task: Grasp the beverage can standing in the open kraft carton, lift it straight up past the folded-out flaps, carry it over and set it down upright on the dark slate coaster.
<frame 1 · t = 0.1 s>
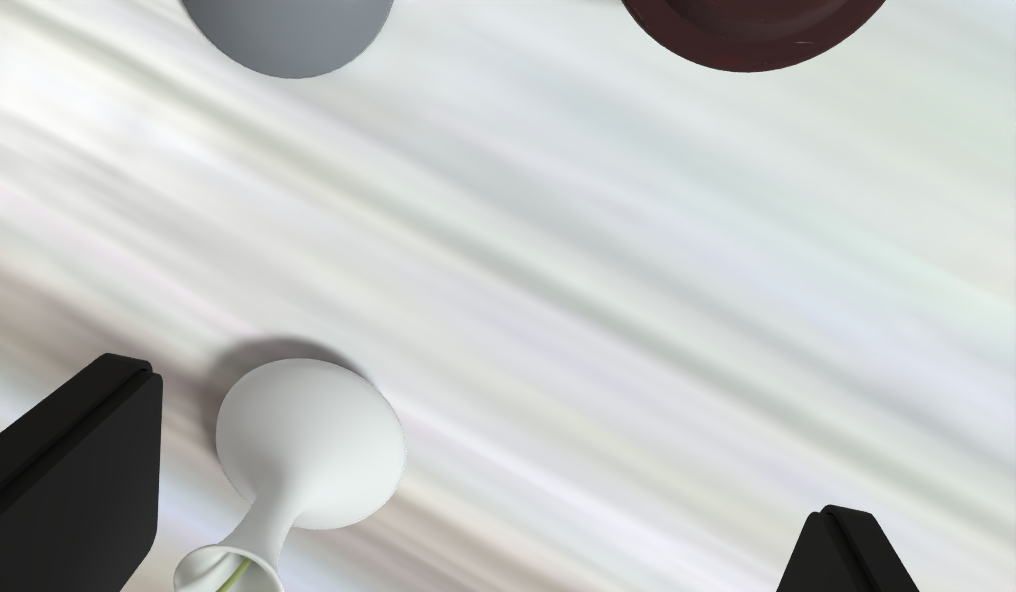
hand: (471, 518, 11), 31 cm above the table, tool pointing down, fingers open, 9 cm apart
flower in vase: (307, 427, 47), on the table
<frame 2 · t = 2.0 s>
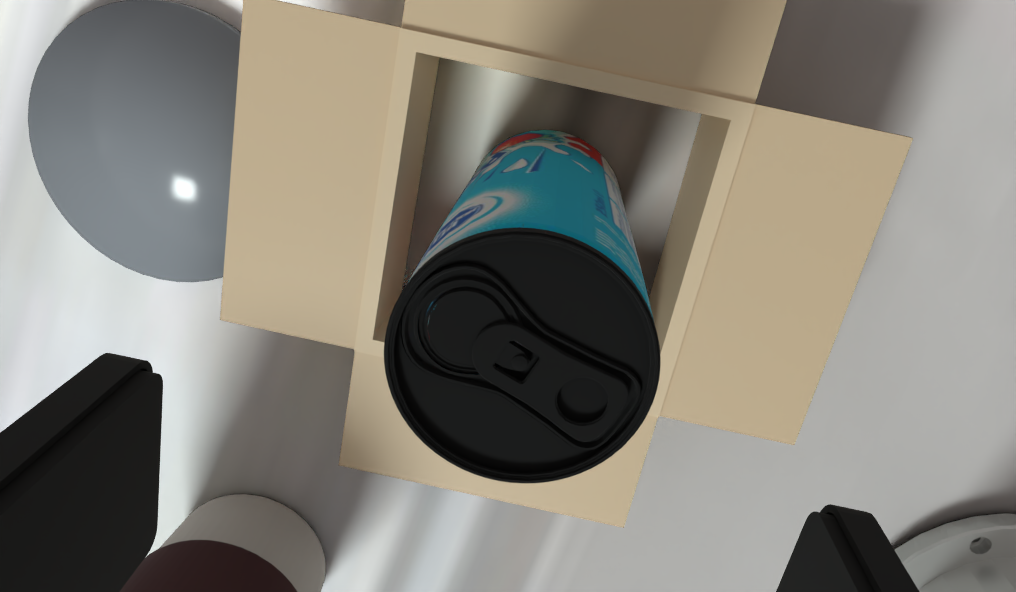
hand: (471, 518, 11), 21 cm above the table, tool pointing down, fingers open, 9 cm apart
carton: (544, 202, 30), on the table
coffee cup: (257, 550, 38), on the table
coaster: (172, 147, 31), on the table
beverage can: (544, 201, 31), resting in carton
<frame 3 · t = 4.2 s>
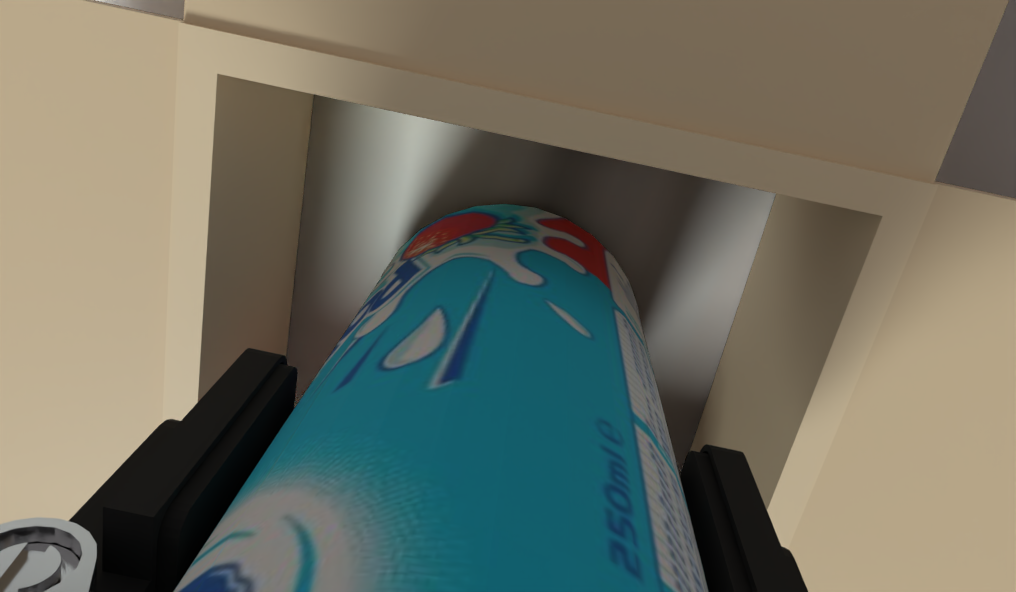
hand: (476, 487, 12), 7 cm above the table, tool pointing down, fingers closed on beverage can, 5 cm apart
carton: (507, 320, 18), on the table
beverage can: (507, 316, 18), resting in carton, touching gripper
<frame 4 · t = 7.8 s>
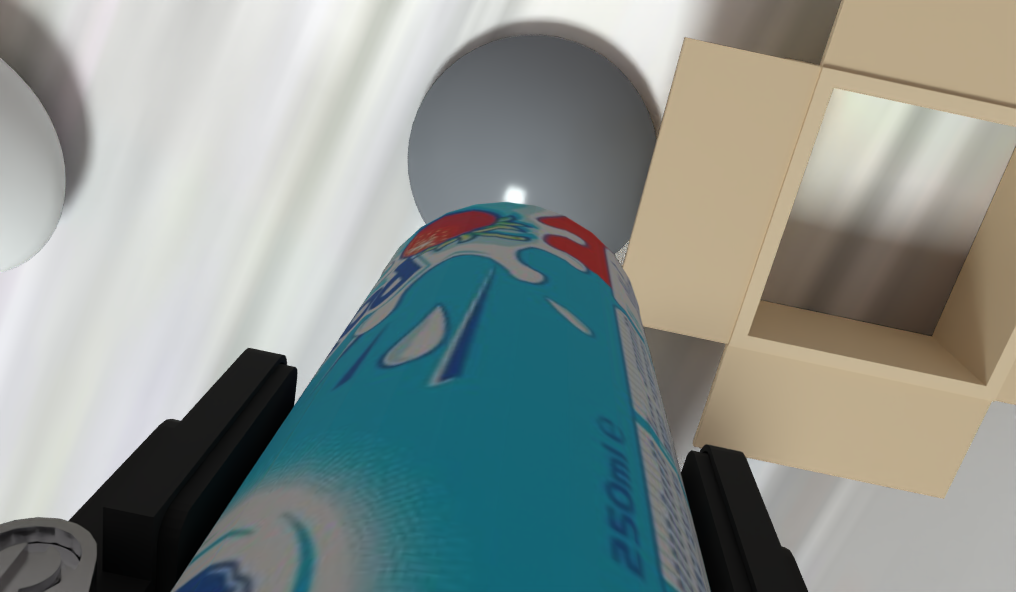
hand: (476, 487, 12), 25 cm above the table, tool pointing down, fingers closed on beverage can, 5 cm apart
carton: (866, 212, 34), on the table
coaster: (532, 164, 35), on the table
beverage can: (507, 315, 18), point 18 cm above the table, touching gripper
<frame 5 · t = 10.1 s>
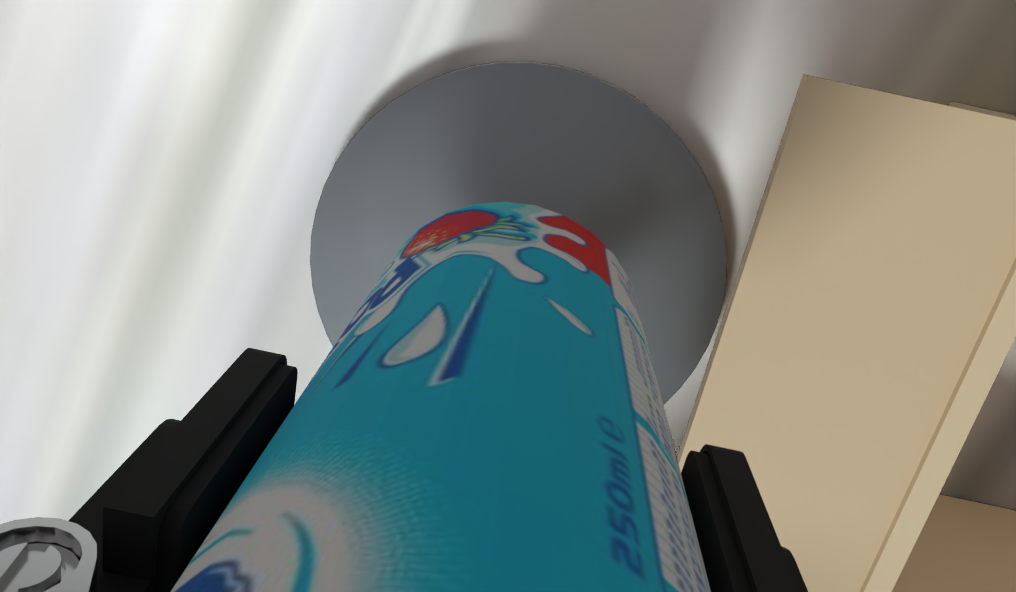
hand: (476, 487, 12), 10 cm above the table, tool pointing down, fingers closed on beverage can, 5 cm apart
coaster: (516, 272, 21), on the table
beverage can: (507, 315, 18), point 3 cm above the table, touching gripper
when the fingers open (8 cm above the table, at t = 11.6 s): beverage can stays where it is, resting on coaster.
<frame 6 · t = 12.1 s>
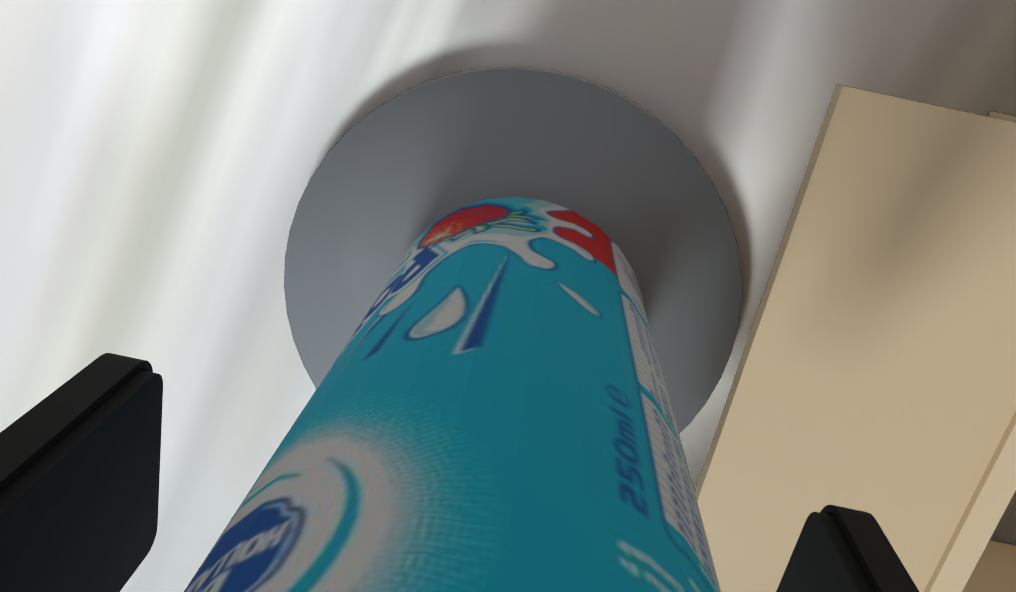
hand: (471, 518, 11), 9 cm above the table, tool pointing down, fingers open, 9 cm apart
coaster: (510, 296, 19), on the table
beverage can: (517, 306, 19), resting on coaster
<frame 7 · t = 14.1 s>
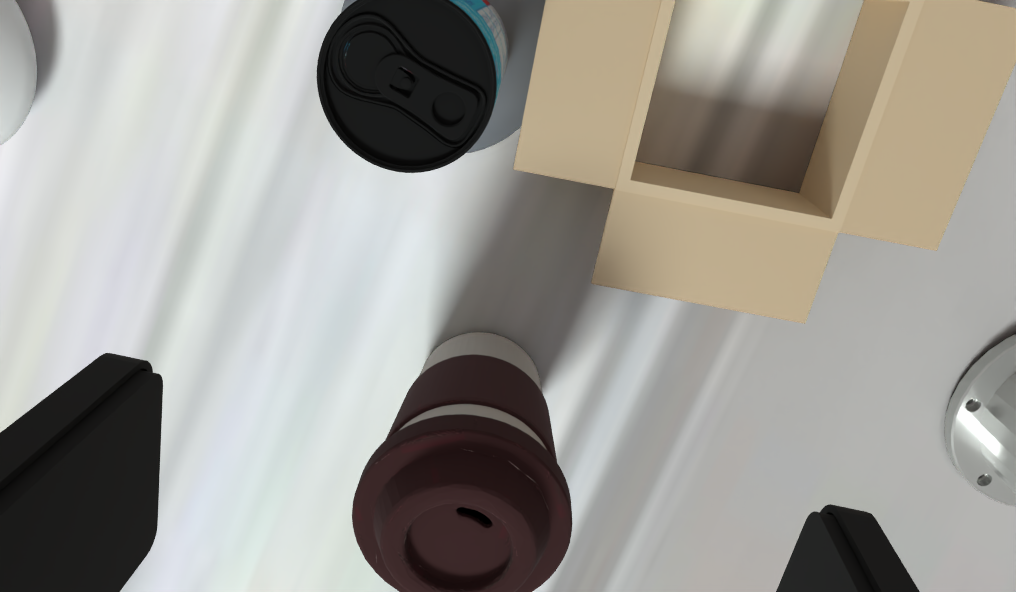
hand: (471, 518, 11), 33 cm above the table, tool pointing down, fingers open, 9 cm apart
carton: (736, 82, 40), on the table
coffee cup: (480, 381, 47), on the table
coaster: (448, 45, 40), on the table
beverage can: (451, 47, 39), resting on coaster
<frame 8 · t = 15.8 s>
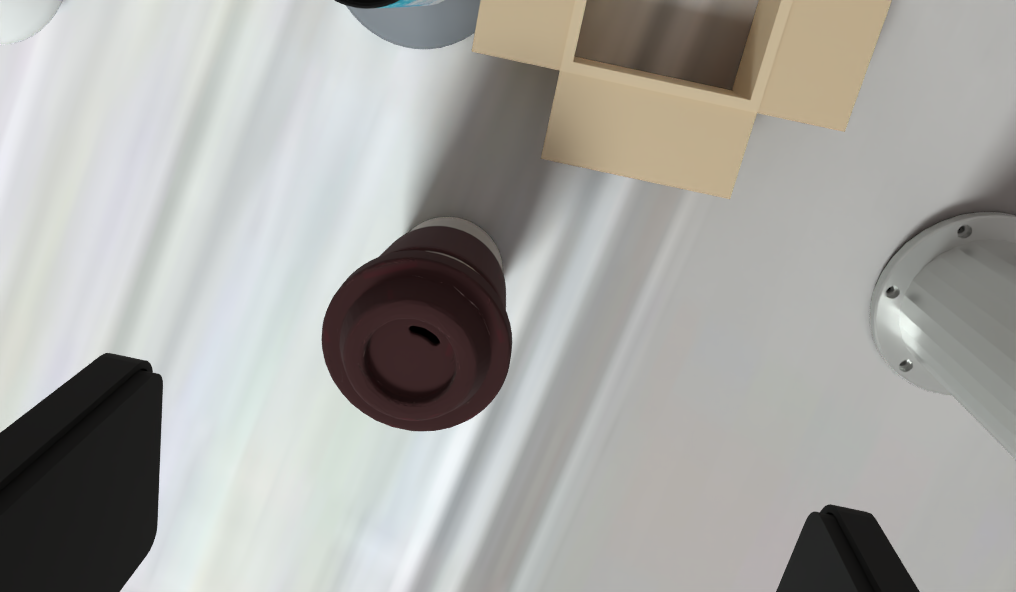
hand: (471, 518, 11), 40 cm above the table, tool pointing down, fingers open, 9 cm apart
coffee cup: (450, 265, 53), on the table
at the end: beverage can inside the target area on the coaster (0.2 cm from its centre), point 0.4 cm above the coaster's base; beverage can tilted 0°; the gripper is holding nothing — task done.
